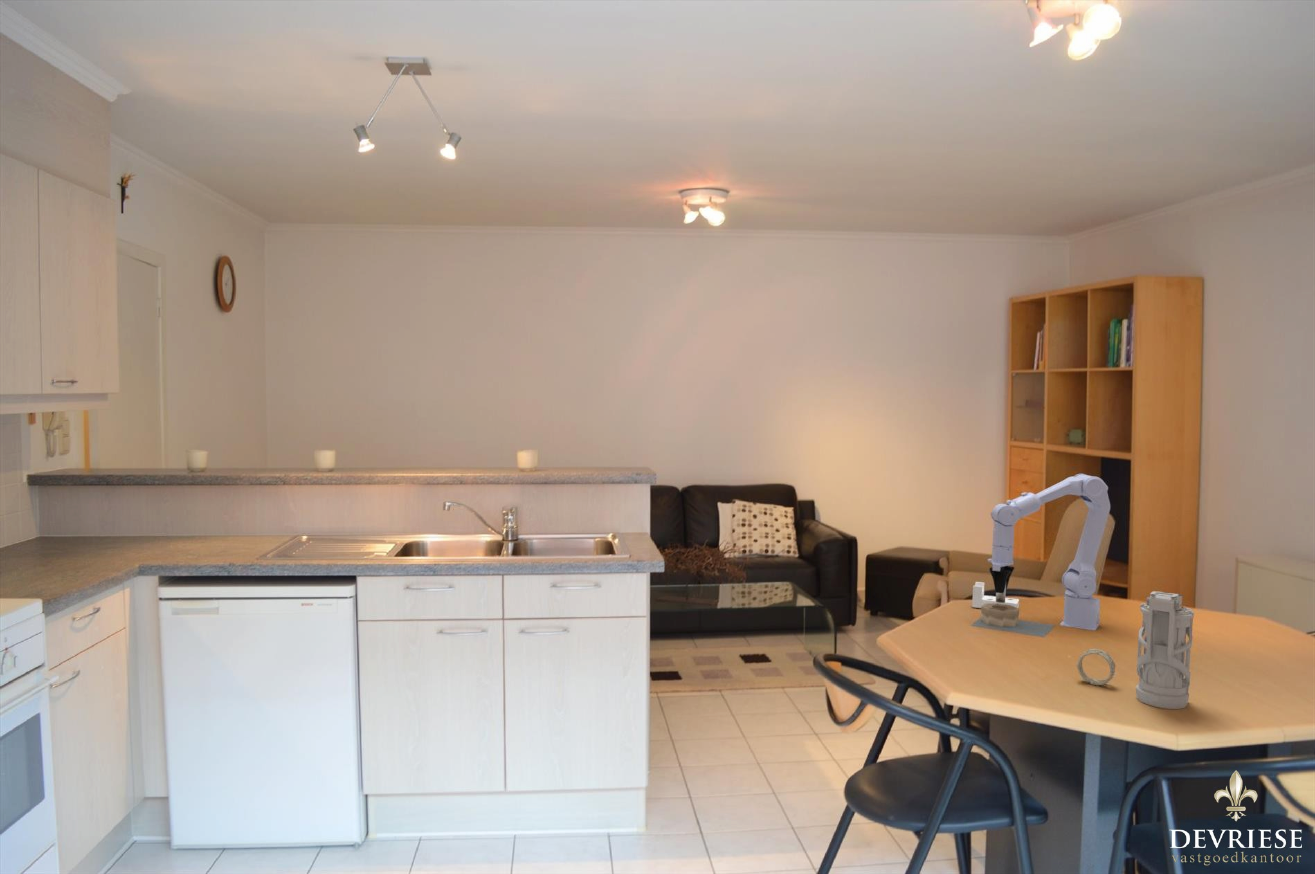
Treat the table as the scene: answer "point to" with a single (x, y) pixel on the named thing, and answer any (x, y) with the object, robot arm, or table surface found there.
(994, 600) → the bracket
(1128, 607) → the table surface
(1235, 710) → the table surface
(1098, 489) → the robot arm
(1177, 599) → the lantern
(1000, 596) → the peg
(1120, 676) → the table surface
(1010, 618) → the ring
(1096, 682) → the bracelet
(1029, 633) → the mat
